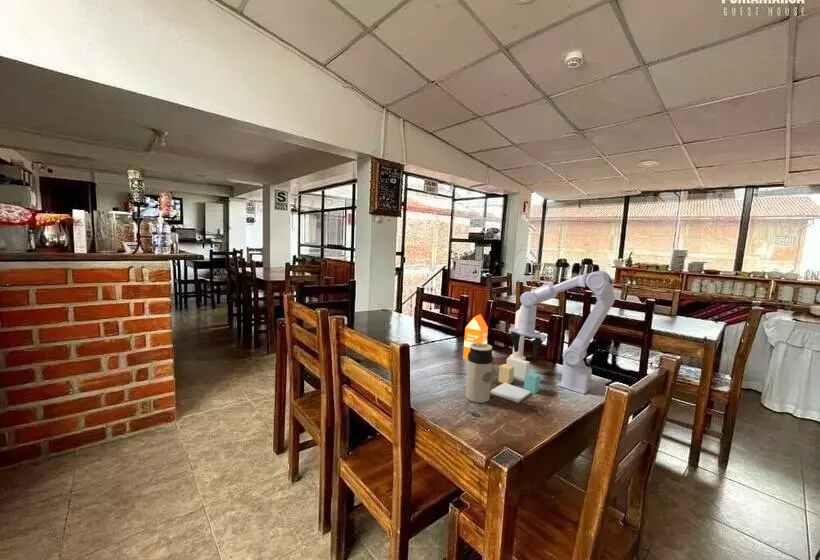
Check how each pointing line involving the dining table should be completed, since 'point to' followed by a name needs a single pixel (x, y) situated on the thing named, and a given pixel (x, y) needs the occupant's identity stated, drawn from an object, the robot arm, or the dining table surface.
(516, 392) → the mat
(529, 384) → the teal block
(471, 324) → the orange juice
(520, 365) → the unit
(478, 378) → the travel mug
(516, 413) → the dining table surface
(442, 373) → the dining table surface
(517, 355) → the candle
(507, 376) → the ochre block
